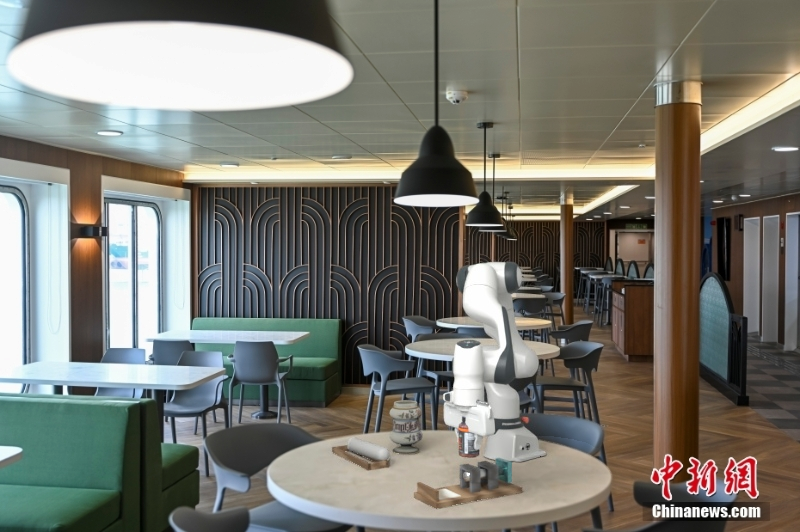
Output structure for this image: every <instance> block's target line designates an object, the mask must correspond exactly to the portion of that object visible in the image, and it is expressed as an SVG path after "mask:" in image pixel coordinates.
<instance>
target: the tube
mask: <svg viewBox="0 0 800 532" xmlns="http://www.w3.org/2000/svg"><path fill="white" fill-rule="evenodd" d="M346 445H347V449H348V450H350V451H349V452H351V451H353V452H352V453H354V452H356V453H358V454H361V455H364V456H367V457H369V458H372V459H375V460H378V461H385V460H388V461H389V458H390V457H391V455H390V450H389V448H387V447H385V446H382V445H379V444H376V443H372V442H370V441H366V440H363V439H360V438H357V437H355V436H353V437H349V440H347V444H346ZM356 453H355V454H356ZM358 454H357V455H358Z"/></svg>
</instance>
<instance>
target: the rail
mask: <svg viewBox="0 0 800 532" xmlns="http://www.w3.org/2000/svg"><path fill="white" fill-rule="evenodd" d="M484 468H486V469H488V478H484V479H480V469H484ZM466 471H468V472H470V481H467V482H466V481H465V480H464V478H463V473H464V472H466ZM416 487H417V488H416V489H417V490H416V491H415V492H413V498H415V499H416V500H417V501H420V502H422V503H424V504H425V505H428V506H429V505H430V506H429V507H431V506H432V508H433V507H434V508H433V509H435V508H436V509H435V510H438V509H437V508H439V509H443V508H442V507H445V508H447V507H446V506H450V507H453V506H452V505H455V506H457V505H456V504H460V505H462V504H461V503H465V504H467V503H466V502H471V501H476V502H478V501H477V500H481V499H486V500H488V499H487V498H491V499H494V498H493V497H497V498H500V497H499V496H502V497H505V496H504V495H507V496H511V494H512V495H517V494H521V493H523V487H522V486H520V485H517V484H515V483H513V482H511V483H506V482H504V481H501V480H499V479H498V465H496V464H495V463H492V462H490V461H487V460H482V461H477V466H475V465H472V464H470V463H464V464H459V484H455V485H448V486H443V487H436V488H434V487H433V486H432V487H431V486H429V485H428V484H425V483H423V482H421V481H420V482H419V481H418V482H416ZM516 493H517V494H516ZM481 501H482V500H481ZM471 503H472V502H471Z"/></svg>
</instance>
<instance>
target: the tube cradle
mask: <svg viewBox="0 0 800 532" xmlns="http://www.w3.org/2000/svg"><path fill="white" fill-rule="evenodd" d="M345 451H347V452H345ZM332 452H333V453H332ZM349 452H350V451H349V450H348V449H347V444H346V445H345V444H344V445H338V446H337V445H336V446H331V453H332V454H334V453H335V454H334V455H336V454H337V455H336V456H338V455H339V456H338V457H340V456H341V457H340V458H342V457H343V459H344V458H345V459H344V460H346V459H347V460H346V461H348V460H349V461H348V462H350V461H351V462H350V463H352V462H353V463H352V464H354V463H355V464H354V465H356V464H357V465H356V466H358V465H359V466H358V467H360V466H361V467H360V468H362V469H364V470H366V471H372V470H378V469H379V470H380V469H385V468H386V469H387V468H389V467H390V460H389V459H388V460H385V461H378V460H375V459H372V458H369V457H367V456H364V455H362V456H364V457H366V458H365V459H367V458H368V459H367V460H369V459H370V460H369V461H371V460H372V461H371V462H368V461H366V460H364V459H361V457H362V456H361V457H360V458H359V457H358V456H356V455H353V454H351V453H349ZM354 454H356V452H355V453H354ZM360 455H361V454H360ZM360 455H359V456H360ZM364 457H363V458H364Z"/></svg>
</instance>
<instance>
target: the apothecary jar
mask: <svg viewBox="0 0 800 532" xmlns="http://www.w3.org/2000/svg"><path fill="white" fill-rule="evenodd" d="M422 414H423V411H422V409H421V408H420V407H419V405H418V402H417V401H415V400H407V399H405V400H397V401H394V402H393V407H392V408H391V409H390V410H389V416H390V417H391V418H392V431H391V432H390V433H389V438H390V440H391V441H392V442H393V443H395V444H396V445H399V446H397V447H395V448H393V449H392V452H393V453H394V452H395V453H394V454H396V453H399V454H398V455H404V454H408V455H415V453H416V454H418V453H420V449H419V447H416V446H413V445H414V444H418V443H419V442H420V441H422V439H423V432H422V431H421V430H420V425H419V423H420V421H419V420H420V417H421V416H422Z"/></svg>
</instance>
